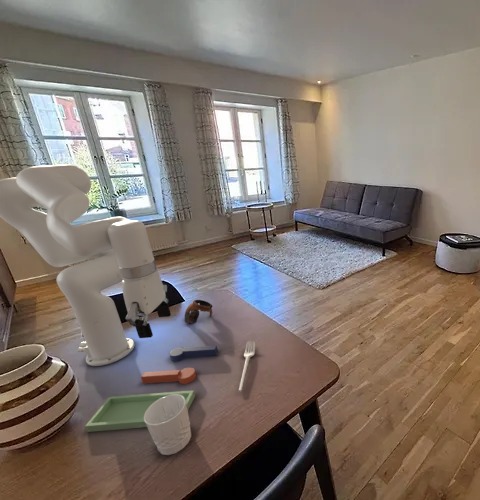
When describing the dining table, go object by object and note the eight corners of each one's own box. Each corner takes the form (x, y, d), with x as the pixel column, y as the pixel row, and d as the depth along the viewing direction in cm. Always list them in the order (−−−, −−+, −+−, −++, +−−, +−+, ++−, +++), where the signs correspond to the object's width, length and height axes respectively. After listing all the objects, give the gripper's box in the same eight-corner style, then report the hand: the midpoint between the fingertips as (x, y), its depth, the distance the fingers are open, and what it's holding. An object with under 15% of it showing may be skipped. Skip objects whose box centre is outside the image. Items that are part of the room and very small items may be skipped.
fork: (233, 393, 80) (232, 388, 79) (246, 346, 99) (245, 341, 98) (246, 392, 80) (245, 386, 80) (256, 345, 99) (255, 340, 98)
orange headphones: (186, 315, 117) (193, 296, 117) (210, 322, 120) (217, 304, 120) (175, 325, 106) (184, 304, 106) (202, 333, 108) (210, 312, 108)
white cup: (166, 426, 71) (156, 395, 67) (199, 424, 72) (191, 392, 68) (147, 460, 64) (135, 426, 60) (185, 456, 64) (175, 423, 61)
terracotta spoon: (140, 387, 83) (137, 380, 82) (149, 375, 87) (146, 369, 86) (192, 383, 84) (190, 376, 83) (198, 372, 88) (196, 365, 87)
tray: (87, 432, 70) (84, 426, 69) (111, 402, 78) (109, 396, 77) (181, 424, 72) (179, 418, 71) (195, 395, 80) (194, 390, 79)
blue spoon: (219, 349, 97) (218, 343, 96) (214, 358, 93) (213, 352, 92) (174, 352, 96) (173, 346, 95) (168, 361, 92) (166, 355, 91)
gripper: (142, 257, 83) (158, 310, 89) (99, 285, 66) (121, 347, 72) (170, 256, 83) (184, 308, 89) (134, 283, 67) (153, 345, 73)
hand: (156, 326), depth 81 cm, fingers open, 9 cm apart
